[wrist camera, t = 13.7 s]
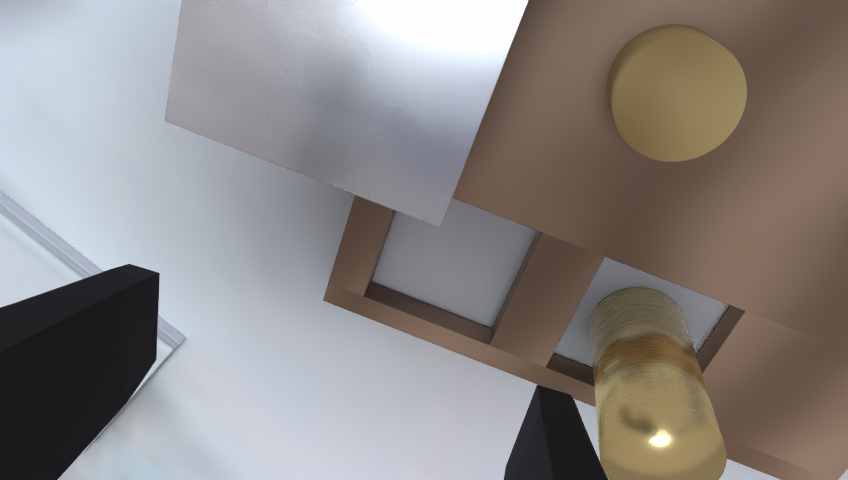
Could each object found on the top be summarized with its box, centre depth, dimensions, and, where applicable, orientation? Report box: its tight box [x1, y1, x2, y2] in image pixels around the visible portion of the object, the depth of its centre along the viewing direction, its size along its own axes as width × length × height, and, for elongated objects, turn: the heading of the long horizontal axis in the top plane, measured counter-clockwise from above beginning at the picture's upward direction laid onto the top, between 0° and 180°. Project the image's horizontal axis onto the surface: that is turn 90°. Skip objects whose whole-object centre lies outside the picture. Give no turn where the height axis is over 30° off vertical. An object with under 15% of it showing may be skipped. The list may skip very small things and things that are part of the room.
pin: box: [590, 288, 727, 480], centre depth 19 cm, size 3×3×6 cm
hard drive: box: [0, 190, 186, 454], centre depth 26 cm, size 2×8×12 cm
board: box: [323, 0, 848, 480], centre depth 18 cm, size 23×15×3 cm, turn 71°
